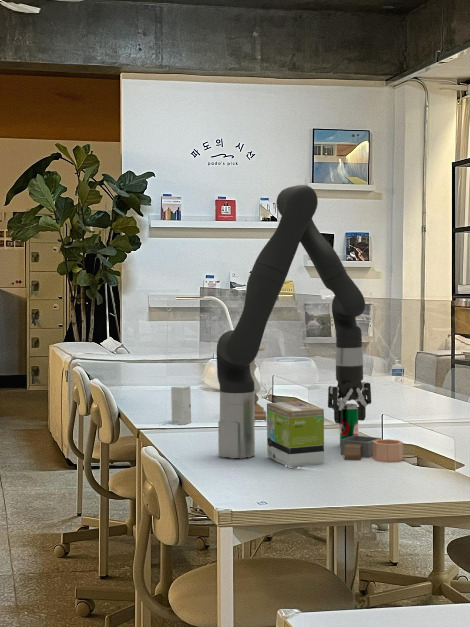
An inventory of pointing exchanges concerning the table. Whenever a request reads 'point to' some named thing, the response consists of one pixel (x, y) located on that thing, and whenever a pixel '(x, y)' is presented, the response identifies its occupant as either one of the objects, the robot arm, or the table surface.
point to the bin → (360, 440)
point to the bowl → (388, 450)
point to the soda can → (349, 421)
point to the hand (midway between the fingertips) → (350, 421)
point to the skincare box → (181, 404)
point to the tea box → (295, 433)
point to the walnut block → (352, 452)
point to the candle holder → (259, 410)
